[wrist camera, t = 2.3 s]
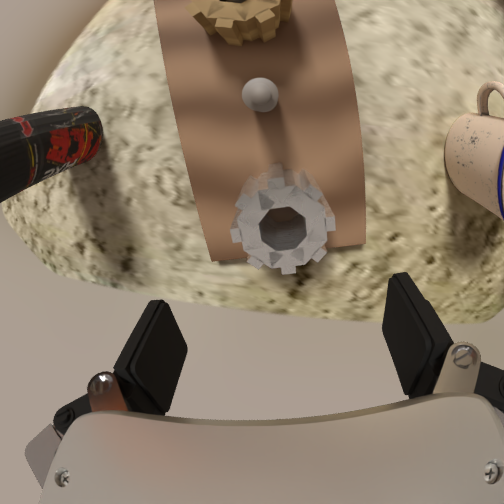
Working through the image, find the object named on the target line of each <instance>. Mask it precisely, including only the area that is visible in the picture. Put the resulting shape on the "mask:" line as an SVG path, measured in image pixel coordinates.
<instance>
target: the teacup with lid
mask: <svg viewBox="0 0 504 504" xmlns="http://www.w3.org/2000/svg"><path fill="white" fill-rule="evenodd" d="M493 90H497V91H498V92H499V93H500V94H501V96H502V97H503V99H504V84H502V83H500V82H496V81H491V82H487V83H485V84H483V85H482V86H481V88H480V89H479V92H478V95H477V107H478V113H467V114H464V115H462V116H460V117H459V118H458V119H457V120H456V121H455V122H454V123H453V125H452V126H451V128H450V130H449V133H448V136H447V139H446V145H445V162H446V167H447V171H448V174H449V176H450V179H451V181H452V182H453V184H454V185H455V187H456V188H457V189H458V190H459V191H460V192H462V193H463V194H465V195H466V196H468V197H470V198H471V199H473V200H474V201H476V202H477V203H479V204H480V205H482V206H483V207H485V208H486V209H488V210H489V211H491V212H492V213H494V214H495V215H497V216H498V217H499V218H501V219H502V220H504V118H500V117H495V116H490V115H489V111H488V97H489V95H490V93H491V92H492V91H493Z"/></svg>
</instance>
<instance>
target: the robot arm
mask: <svg viewBox="0 0 504 504" xmlns="http://www.w3.org/2000/svg"><path fill="white" fill-rule="evenodd" d="M382 331H383V335H384V338H385V340H386V343H387V346H388V348H389V351H390V354H391V356H392V359H393V362H394V365H395V368H396V371H397V374H398V377H399V379H400V383H401V386H402V389H403V392H404V394H405V395H408V396H409V399H408V400H404V401H400V402H396V403H391V404H387V405H382V406H377V407H372V408H368V409H362V410H356V411H350V412H345V413H338V414H331V415H323V416H314V417H304V418H292V419H276V420H209V419H193V418H181V417H171V416H165V413H166V412H168V411H169V409H170V406H171V403H172V399H173V396H174V392H175V390H176V386H177V383H178V380H179V377H180V373H181V370H182V367H183V364H184V361H185V358H186V355H187V344H186V342H185V340H184V338H183V336H182V333H181V331H180V329H179V327H178V325H177V322H176V320H175V318H174V316H173V313H172V311H171V309H170V307H169V304H168V303H165V301H164V300H151V301H150V302H149V303H148V305H147V307H146V308H145V310H144V312H143V314H142V316H141V318H140V319H139V321H138V323H137V324H136V326H135V328H134V330H133V332H132V333H131V335H130V337H129V339H128V341H127V342H126V344H125V346H124V348H123V350H122V352H121V354H120V356H119V358H118V360H117V361H116V363H115V365H114V367H113V368H114V372H113V373H111V372H107V371H106V372H101V373H98V374H96V375H95V376H94V377H93V378H92V379H91V380H90V382H89V383H88V387H87V392H88V393H87V394H86V395H84V396H82V397H80V398H78V399H76V400H74V401H73V402H71V403H69V404H67V405H65V406H63V407H62V408H60V409H59V410H58V411H57V412H56V414H55V416H54V420H53V423H54V425H52V424H49V425H48V426H47V427H46V428H45V429H44V430H43V431H42V432H40V433H39V434H38V435H37V436H36V437H35V438H34V439H33V440H32V441H31V442H29V444H28V445H27V446H26V449H25V456H26V459H27V461H28V463H29V465H30V467H31V469H32V471H33V473H34V475H35V477H36V478H37V480H38V482H39V484H40V486H41V487H42V489H43V490H42V493H41V497H40V501H39V504H504V370H501V369H499V368H496V367H494V366H491V365H489V364H486V363H483V362H481V355H480V352H479V350H478V349H477V348H476V347H475V346H474V345H473V344H470V343H468V342H457V343H455V344H454V342H453V341H452V339H451V337H450V335H449V333H448V332H447V330H446V328H445V327H444V325H443V323H442V322H441V320H440V318H439V317H438V315H437V313H436V312H435V310H434V309H433V307H432V305H431V304H430V302H429V301H428V300H425V298H424V297H423V295H422V294H421V292H420V291H419V289H418V288H417V286H416V285H415V283H414V282H413V280H412V279H411V277H410V276H409V275H408V273H407V272H402V273H396V274H393V276H392V278H389V281H388V290H387V297H386V305H385V312H384V318H383V324H382Z"/></svg>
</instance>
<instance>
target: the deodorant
mask: <svg viewBox="0 0 504 504" xmlns="http://www.w3.org/2000/svg"><path fill="white" fill-rule="evenodd" d="M101 141H102V125H101V121H100V119H99V117H98V115H97V113H96V112H95V111H94V110H93V109H91V108H89V107H84V106H80V107H71V108H63V109H56V110H50V111H44V112H38V113H33V114H28V115H23V116H19V117H14V118H10V119H5V120H2V121H0V203H1V202H3V201H5V200H6V199H8V198H10V197H12V196H14V195H15V194H17V193H19V192H21V191H23V190H25V189H27V188H29V187H31V186H33V185H35V184H37V183H39V182H41V181H43V180H45V179H47V178H49V177H51V176H54V175H56V174H58V173H60V172H62V171H65V170H67V169H69V168H72V167H74V166H77V165H79V164H82V163H84V162H86V161H89V160H90V159H92V158H93V157H94V156H95V154H96V153H97V152H98V150H99V147H100V145H101Z"/></svg>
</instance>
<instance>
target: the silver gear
mask: <svg viewBox="0 0 504 504" xmlns="http://www.w3.org/2000/svg"><path fill="white" fill-rule="evenodd" d="M235 206H236V207H237V208H238V209H237V211H236V214H235V217H234V219H233V222H232V225H231V227H230V233H231V237H232V241H233V243H237V242H242V245H243V250H244V251H245V252H247V253H248V258H247V262H248V263H249V264H251V265H252V266H254V267H256V268H257V269H259V268H260V267H261V266H262V265H263V264H265V265H267V266H268V267H270V268H271V269H272V268H281V271H282V275H284V274H293V273H296V266H298V265H305V264H306V263H307V262H308V261H309V260H310V259H311V258H312V259H313V260H315V261H316V262H317V263H318V262H319V261H320V260H321V259H322V258H323V257H324V255H325V254H326V253H327V250H326V247H325V243H326V241H327V231H336V228H335V216H334V214H333V212H332V210H331V208H330V206H329V204H328V202H327V200H326V199H325V197H324V195H323V193H322V191H321V189H320V188H319V186H318V184H317V182H316V180H315V179H314V177H313V175H311V174H310V173H309V172H307V171H306V170H305V169H304V168H302V170H301V171H300V172H299V173H296V172H295V171H294V170H292V169H286V170H283V167H282V163H274V164H269V168H268V172H264V173H261V175H260V176H259V177H258V179H256V178H254V177H253V176H251V175H250V177H249V178H248V179H247V181H246V182H245V183H244V185H243V187H242V189H241V192H240V194H239V196H238V199H237V201H236V203H235ZM282 207H291V208H293V209H294V210H295V211H297V212H298V213H297V215H296V216H295V217H294V218H293V219H292V220H290V221H282V222H276V221H274V220H273V219H272V218H270V217H269V216H267V215H266V213H267V212H268V211H269V210H270V209H274V208H282Z"/></svg>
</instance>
